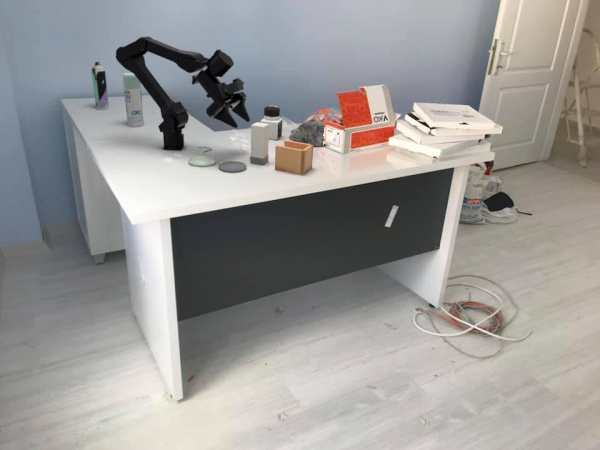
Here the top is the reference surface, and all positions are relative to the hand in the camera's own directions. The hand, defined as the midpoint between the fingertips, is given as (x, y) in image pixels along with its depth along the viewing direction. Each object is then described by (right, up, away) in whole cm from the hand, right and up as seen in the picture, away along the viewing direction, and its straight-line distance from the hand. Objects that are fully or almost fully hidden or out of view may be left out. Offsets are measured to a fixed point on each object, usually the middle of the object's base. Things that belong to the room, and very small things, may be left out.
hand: (243, 124), depth 165 cm
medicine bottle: (+7, +1, +32) cm, 33 cm away
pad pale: (-14, -13, 0) cm, 19 cm away
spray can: (-70, +19, +58) cm, 93 cm away
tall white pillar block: (+5, -12, +4) cm, 14 cm away
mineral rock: (+22, -2, +27) cm, 35 cm away
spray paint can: (-48, +7, +37) cm, 61 cm away
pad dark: (-3, -15, -3) cm, 15 cm away
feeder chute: (+17, -15, 0) cm, 22 cm away
